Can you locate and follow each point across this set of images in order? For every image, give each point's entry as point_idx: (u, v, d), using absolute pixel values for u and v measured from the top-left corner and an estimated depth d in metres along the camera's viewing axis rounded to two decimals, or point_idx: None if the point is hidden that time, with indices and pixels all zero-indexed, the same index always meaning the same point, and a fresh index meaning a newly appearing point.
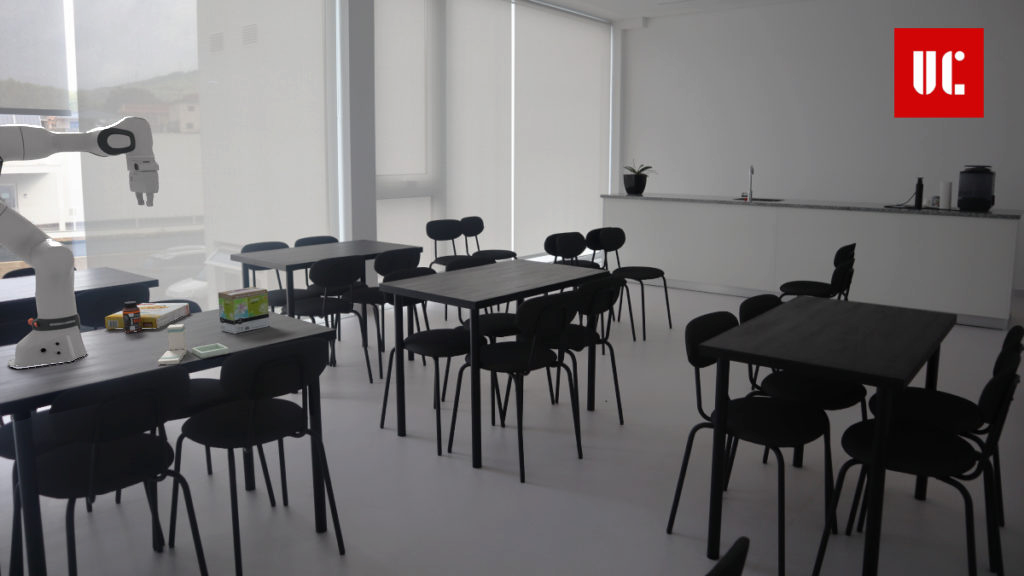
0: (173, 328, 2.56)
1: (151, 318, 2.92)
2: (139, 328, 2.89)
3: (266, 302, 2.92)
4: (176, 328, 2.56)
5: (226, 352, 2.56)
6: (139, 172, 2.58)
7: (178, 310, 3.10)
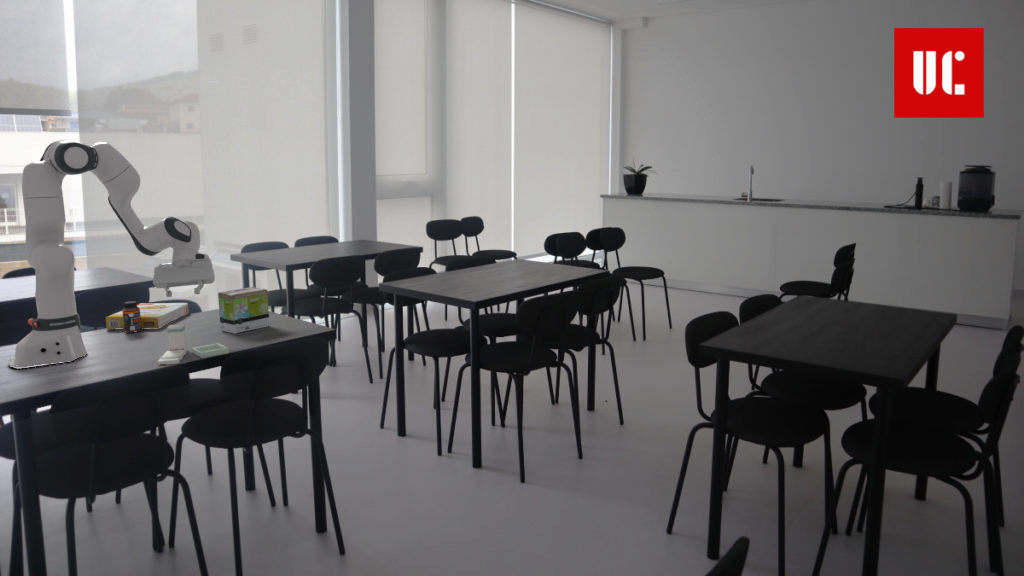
0: (173, 328, 2.56)
1: (153, 318, 2.93)
2: (139, 328, 2.89)
3: (266, 302, 2.92)
4: (176, 328, 2.56)
5: (226, 352, 2.56)
6: (201, 261, 2.74)
7: (178, 310, 3.11)
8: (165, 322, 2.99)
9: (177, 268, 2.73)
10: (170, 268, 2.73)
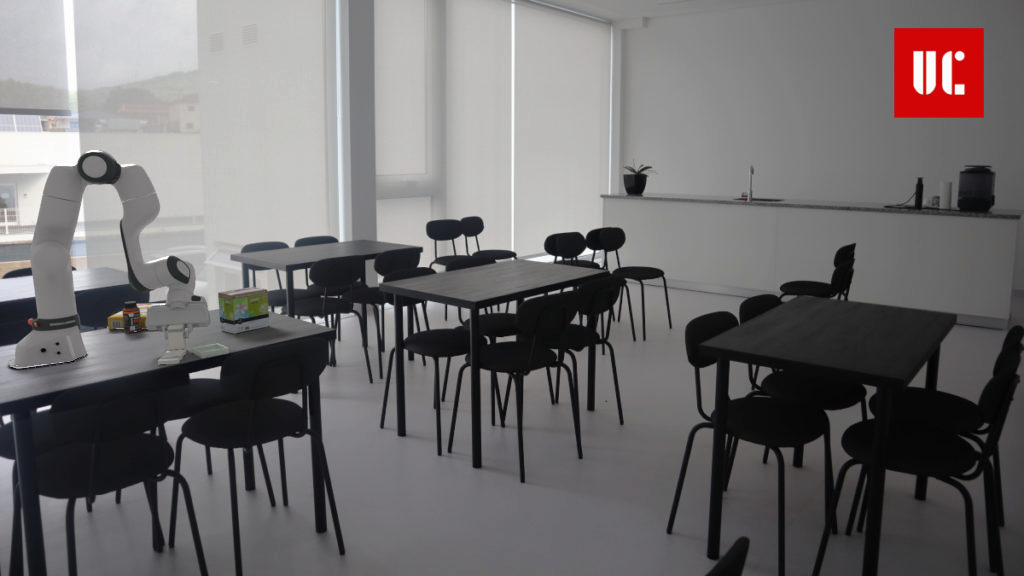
0: (173, 328, 2.56)
1: None
2: (139, 328, 2.89)
3: (266, 302, 2.92)
4: (176, 328, 2.56)
5: (226, 352, 2.56)
6: (197, 303, 2.64)
7: None
8: None
9: (171, 310, 2.62)
10: (164, 309, 2.62)
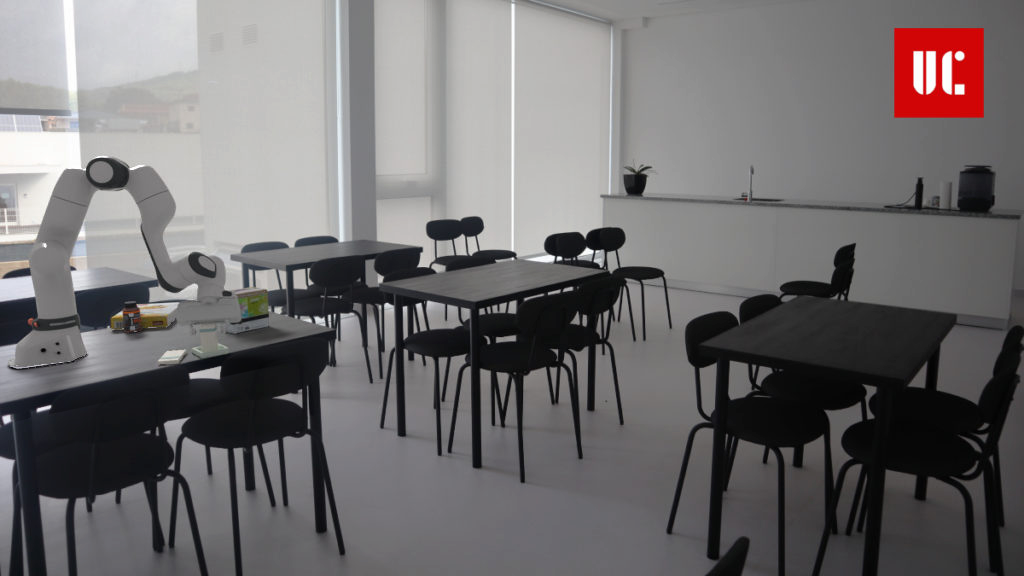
0: (205, 328, 2.53)
1: (161, 317, 2.94)
2: (139, 328, 2.89)
3: (266, 302, 2.92)
4: (208, 328, 2.54)
5: (226, 352, 2.56)
6: (228, 299, 2.61)
7: None
8: (170, 321, 3.01)
9: (202, 305, 2.59)
10: (195, 305, 2.59)
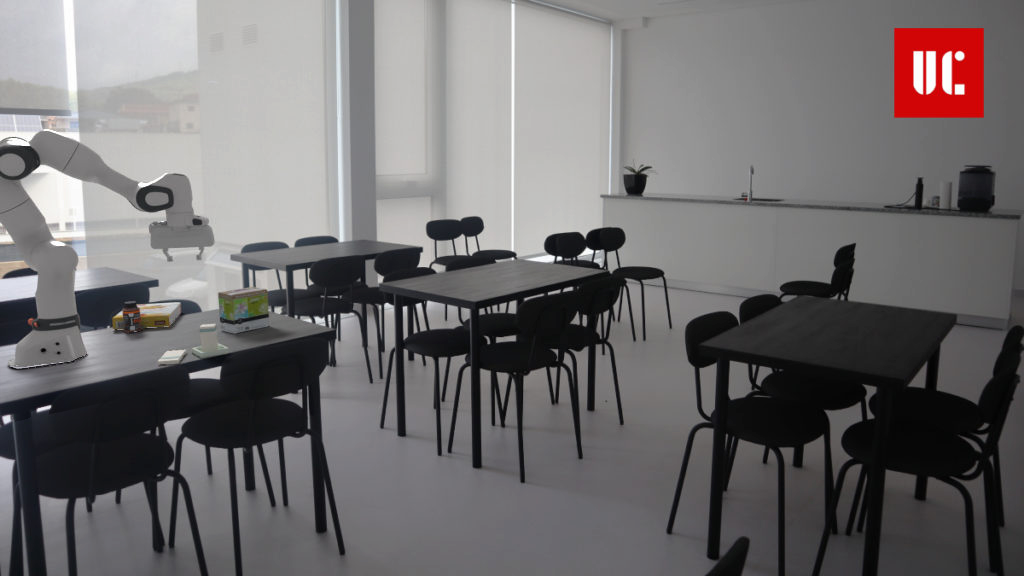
0: (205, 328, 2.53)
1: (164, 316, 2.95)
2: (139, 328, 2.89)
3: (266, 302, 2.92)
4: (208, 328, 2.54)
5: (226, 352, 2.56)
6: (199, 227, 2.63)
7: (177, 309, 3.13)
8: (172, 320, 3.02)
9: (174, 232, 2.62)
10: (166, 231, 2.62)
